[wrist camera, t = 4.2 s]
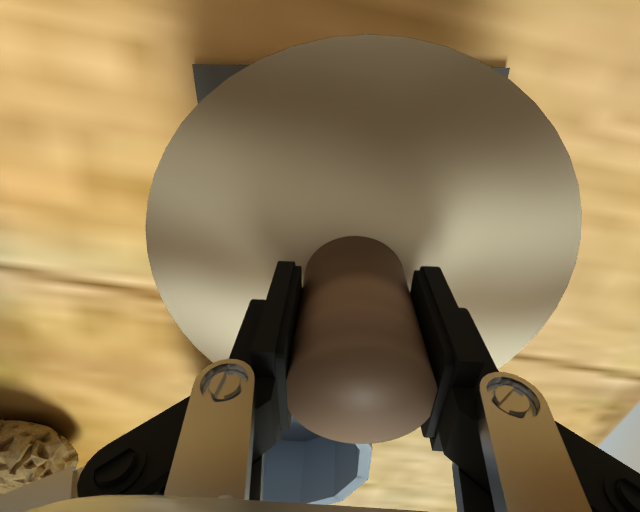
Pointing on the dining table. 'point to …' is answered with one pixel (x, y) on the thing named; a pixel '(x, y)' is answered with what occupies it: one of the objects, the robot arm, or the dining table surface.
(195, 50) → the dining table surface
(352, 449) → the cup
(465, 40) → the dining table surface
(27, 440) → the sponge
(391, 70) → the lid
